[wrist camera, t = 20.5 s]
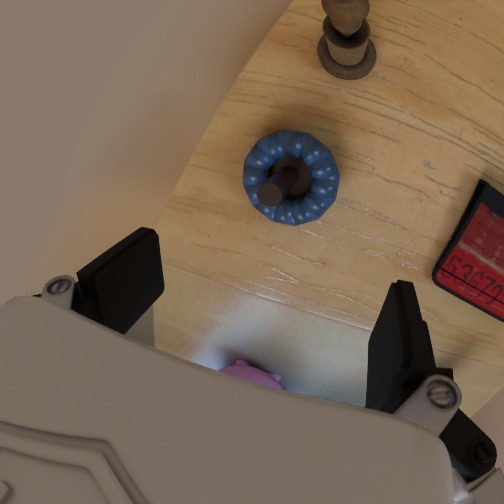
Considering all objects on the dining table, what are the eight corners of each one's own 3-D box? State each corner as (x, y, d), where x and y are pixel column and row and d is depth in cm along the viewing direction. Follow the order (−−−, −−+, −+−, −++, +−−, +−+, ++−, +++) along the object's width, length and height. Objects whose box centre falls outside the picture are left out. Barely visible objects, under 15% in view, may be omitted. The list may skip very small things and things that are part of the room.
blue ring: (251, 124, 32) (243, 125, 30) (345, 138, 29) (345, 140, 27) (244, 210, 38) (236, 218, 35) (330, 227, 35) (328, 237, 32)
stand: (261, 139, 34) (230, 148, 25) (325, 147, 32) (317, 159, 23) (257, 199, 38) (227, 227, 29) (317, 209, 36) (306, 242, 27)
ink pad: (486, 181, 24) (564, 251, 21) (479, 176, 26) (558, 244, 23) (427, 285, 33) (511, 328, 30) (424, 275, 35) (507, 319, 32)
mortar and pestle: (335, 88, 28) (324, 56, 13) (308, 44, 26) (269, -19, 11) (384, 69, 25) (420, 23, 10) (356, 24, 23) (359, -52, 8)
